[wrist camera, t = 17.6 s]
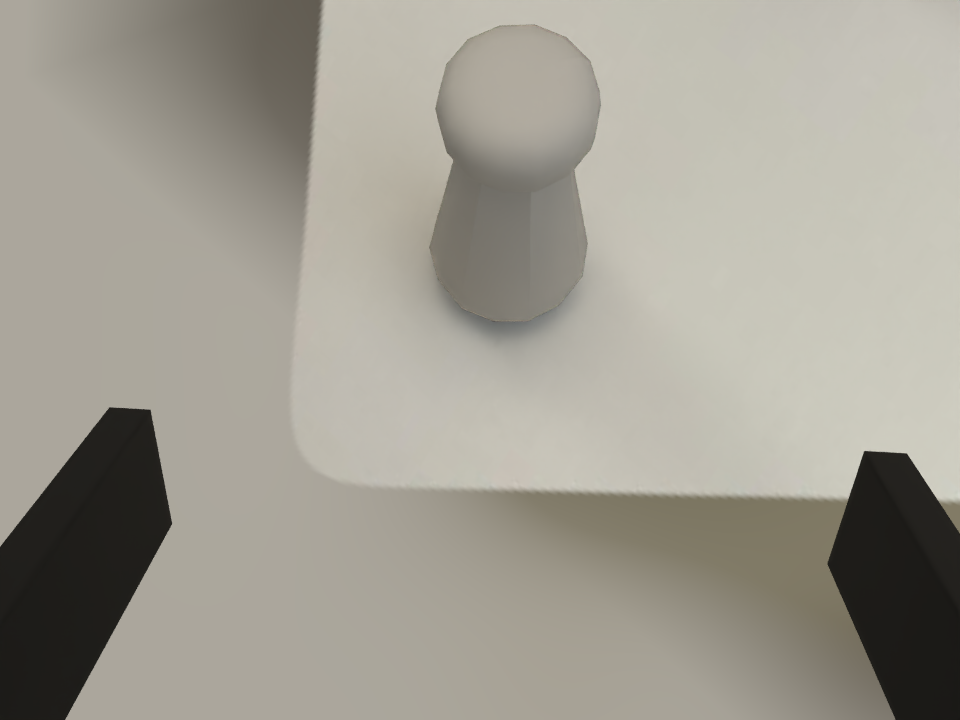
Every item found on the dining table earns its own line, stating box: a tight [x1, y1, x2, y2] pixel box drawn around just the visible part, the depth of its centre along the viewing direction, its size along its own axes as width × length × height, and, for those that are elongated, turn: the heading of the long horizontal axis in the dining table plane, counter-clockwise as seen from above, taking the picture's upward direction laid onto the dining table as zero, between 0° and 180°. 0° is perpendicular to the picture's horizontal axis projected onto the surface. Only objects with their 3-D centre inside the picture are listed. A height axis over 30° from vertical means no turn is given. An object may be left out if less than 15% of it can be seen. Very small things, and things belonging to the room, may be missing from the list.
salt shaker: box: [429, 25, 601, 321], centre depth 27 cm, size 6×6×13 cm
